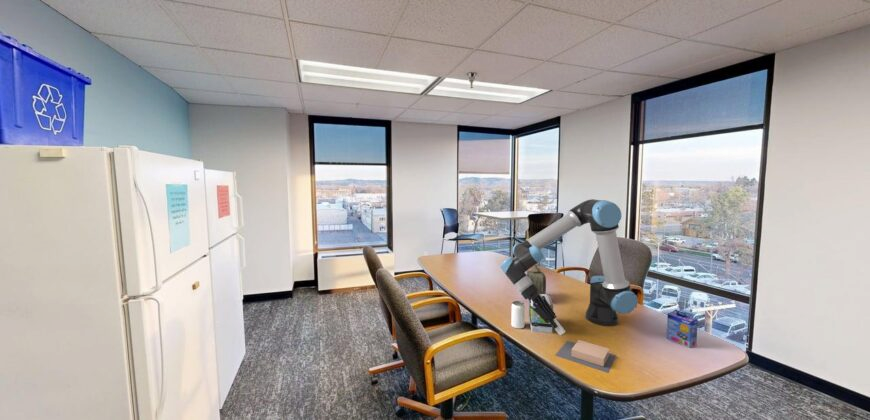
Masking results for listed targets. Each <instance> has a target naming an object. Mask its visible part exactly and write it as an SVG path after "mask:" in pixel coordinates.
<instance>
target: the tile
mask: <svg viewBox="0 0 870 420" xmlns="http://www.w3.org/2000/svg"><path fill="white" fill-rule="evenodd" d="M575 343H576V344H575V345H574V347H573V348H572V352H571V356H572V357H575V358H578V359H581V360H584V361H587V362H590V363H593V364H596V365H600V366H604V364H605V363H606V361H607V359H608V357H609V353H610V348H608V347H604V346H601V345H597V344H594V343H591V342H588V341H583V340H580V339H577V342H575Z"/></svg>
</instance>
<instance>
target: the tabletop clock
mask: <svg viewBox="0 0 870 420" xmlns="http://www.w3.org/2000/svg"><path fill="white" fill-rule="evenodd" d="M526 275H527V276H528V277H529V278H530V280H531V281H532V284H534V285H535V286H536V287H537V288H538V291H537V293H538V294H547V277H546V274H545V273H544V272H543V271H541V270H540V268H539V267H538V263H537V264H535V265H534V267H532V269H531V270H530V269H528V270H527V271H526Z"/></svg>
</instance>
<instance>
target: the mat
mask: <svg viewBox="0 0 870 420" xmlns="http://www.w3.org/2000/svg"><path fill="white" fill-rule="evenodd" d="M576 343H577V342H574V341H570V340H566V341H565V342H564V343H563V345H562V346H561V347H560V348H559V350H558V351H557V352H556V353H555V354H554V355H555V357H559V358H562V359H565V360H567V361H571V362H573V363H577V364H578V365H583V366H586V367H589V368H592V369H595V370H598V371H601V372H604V373H606V374H609V372H610V370H611V368H612V366H613V364H614V362H615V359H616V357H617V356H618V355H617V354H615V353H611V352H609V357H608V359H607V361H606V363H605V364H604V366H600V365H596V364H593V363H590V362H587V361H584V360H581V359H578V358H575V357H572V356H571V352H572V348H573V347H574V345H575V344H576Z"/></svg>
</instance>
